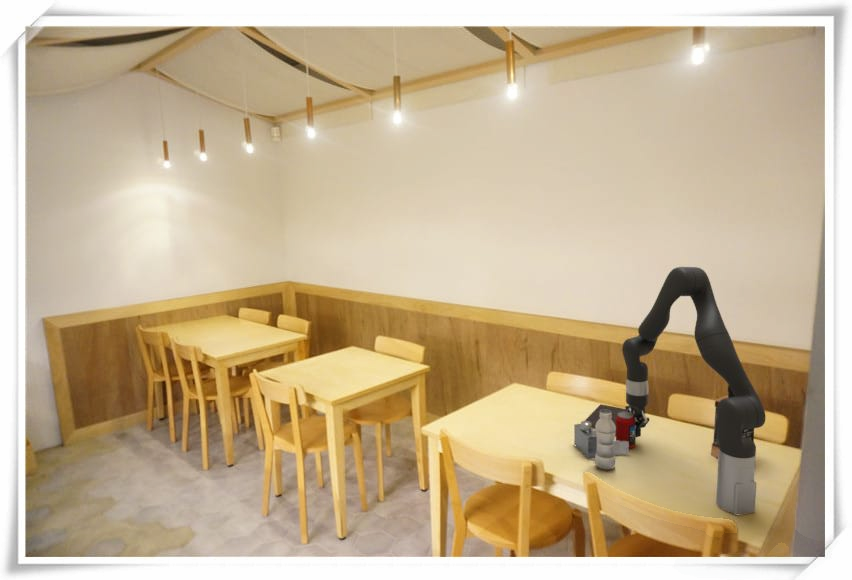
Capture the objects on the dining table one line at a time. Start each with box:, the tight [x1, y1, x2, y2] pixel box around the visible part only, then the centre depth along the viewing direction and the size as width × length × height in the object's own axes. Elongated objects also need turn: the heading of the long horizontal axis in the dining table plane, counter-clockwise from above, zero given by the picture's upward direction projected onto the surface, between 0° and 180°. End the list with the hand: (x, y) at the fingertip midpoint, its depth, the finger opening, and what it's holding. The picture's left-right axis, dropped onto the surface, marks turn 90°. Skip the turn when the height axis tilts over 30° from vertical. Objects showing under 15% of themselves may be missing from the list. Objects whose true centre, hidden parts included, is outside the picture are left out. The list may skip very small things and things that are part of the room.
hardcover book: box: [584, 403, 626, 437], centre depth 220 cm, size 16×23×2 cm
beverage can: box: [615, 412, 637, 449], centre depth 199 cm, size 7×7×12 cm
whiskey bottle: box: [710, 385, 755, 459], centre depth 185 cm, size 10×10×32 cm
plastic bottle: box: [594, 410, 616, 471], centre depth 184 cm, size 6×7×20 cm
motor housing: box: [573, 420, 630, 460], centre depth 198 cm, size 15×14×11 cm
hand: (636, 435), depth 200 cm, fingers closed
